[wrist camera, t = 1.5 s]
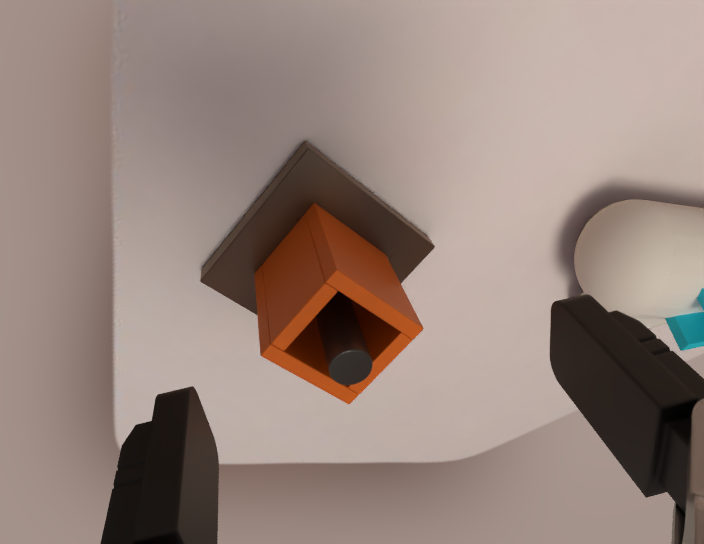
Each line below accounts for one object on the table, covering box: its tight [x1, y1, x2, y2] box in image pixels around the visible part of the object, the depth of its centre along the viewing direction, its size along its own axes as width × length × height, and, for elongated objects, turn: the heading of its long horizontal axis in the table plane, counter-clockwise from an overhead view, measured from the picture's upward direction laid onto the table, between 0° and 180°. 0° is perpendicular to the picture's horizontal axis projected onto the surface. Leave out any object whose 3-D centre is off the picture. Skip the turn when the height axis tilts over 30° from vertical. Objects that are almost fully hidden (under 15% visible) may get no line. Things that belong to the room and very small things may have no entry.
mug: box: [574, 200, 704, 351], centre depth 38 cm, size 12×9×12 cm
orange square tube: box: [254, 203, 423, 404], centre depth 31 cm, size 6×6×8 cm
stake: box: [200, 141, 435, 385], centre depth 31 cm, size 10×10×12 cm
